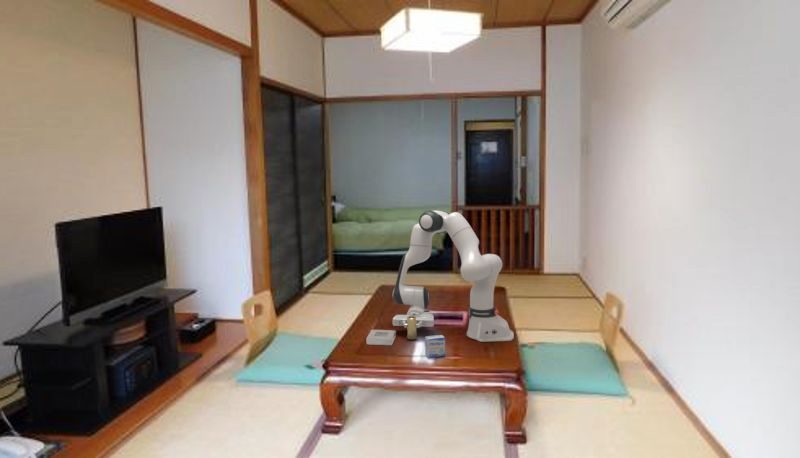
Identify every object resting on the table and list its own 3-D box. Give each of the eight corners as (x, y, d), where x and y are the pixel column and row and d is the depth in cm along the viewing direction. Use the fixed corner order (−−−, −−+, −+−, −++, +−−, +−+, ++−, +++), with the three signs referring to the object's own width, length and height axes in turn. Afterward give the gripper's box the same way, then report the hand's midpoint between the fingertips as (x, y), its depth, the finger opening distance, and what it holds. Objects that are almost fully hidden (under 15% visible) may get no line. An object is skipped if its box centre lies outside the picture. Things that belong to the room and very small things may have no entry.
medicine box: (428, 358, 239) (427, 339, 237) (425, 354, 243) (424, 336, 242) (445, 356, 241) (445, 337, 239) (441, 352, 245) (441, 334, 244)
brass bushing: (417, 336, 264) (416, 316, 262) (416, 339, 260) (415, 318, 258) (408, 336, 265) (407, 315, 263) (406, 339, 260) (406, 318, 259)
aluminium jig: (395, 336, 267) (395, 330, 266) (391, 345, 255) (391, 339, 254) (371, 335, 268) (371, 329, 268) (366, 344, 257) (366, 338, 256)
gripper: (394, 310, 275) (389, 319, 261) (435, 311, 272) (432, 320, 258) (394, 322, 276) (390, 332, 262) (435, 323, 273) (432, 333, 259)
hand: (411, 326), depth 260 cm, fingers closed on brass bushing, 4 cm apart
